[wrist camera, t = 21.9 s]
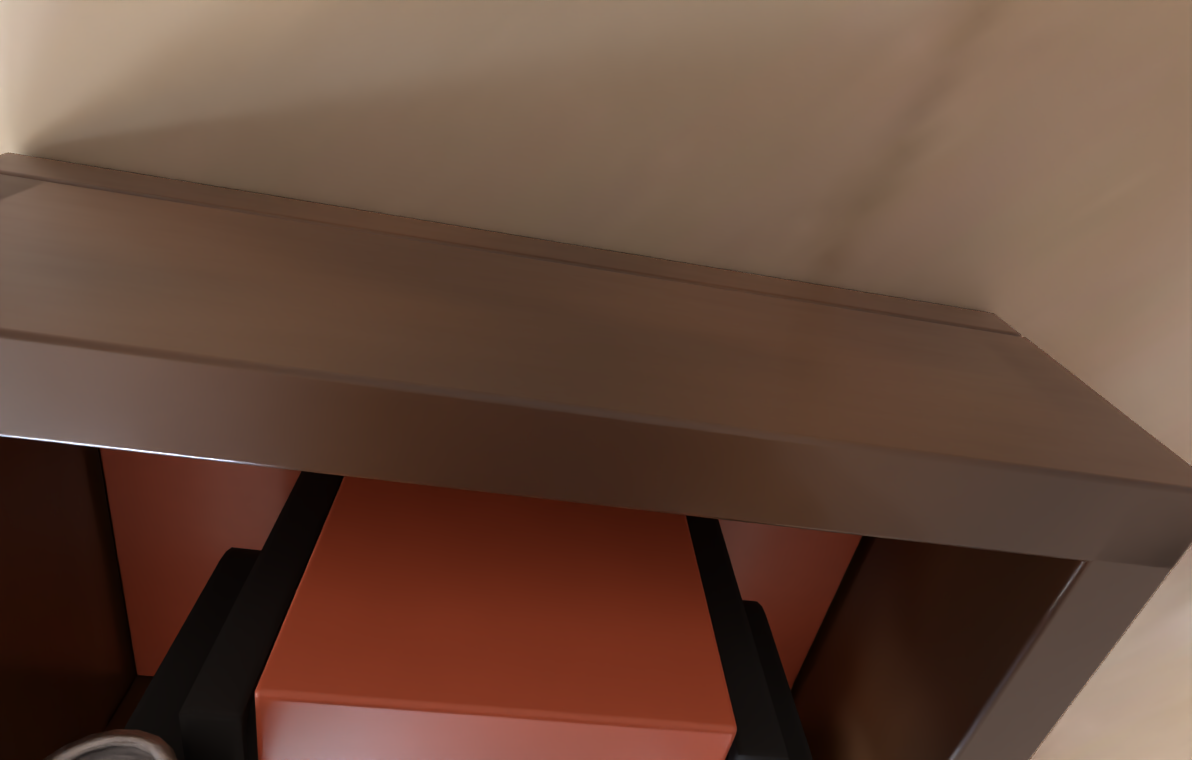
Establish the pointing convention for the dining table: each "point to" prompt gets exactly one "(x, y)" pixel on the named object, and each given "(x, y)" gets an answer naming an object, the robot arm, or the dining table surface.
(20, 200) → the sorting tray
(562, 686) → the terracotta block
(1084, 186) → the dining table surface
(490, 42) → the dining table surface
